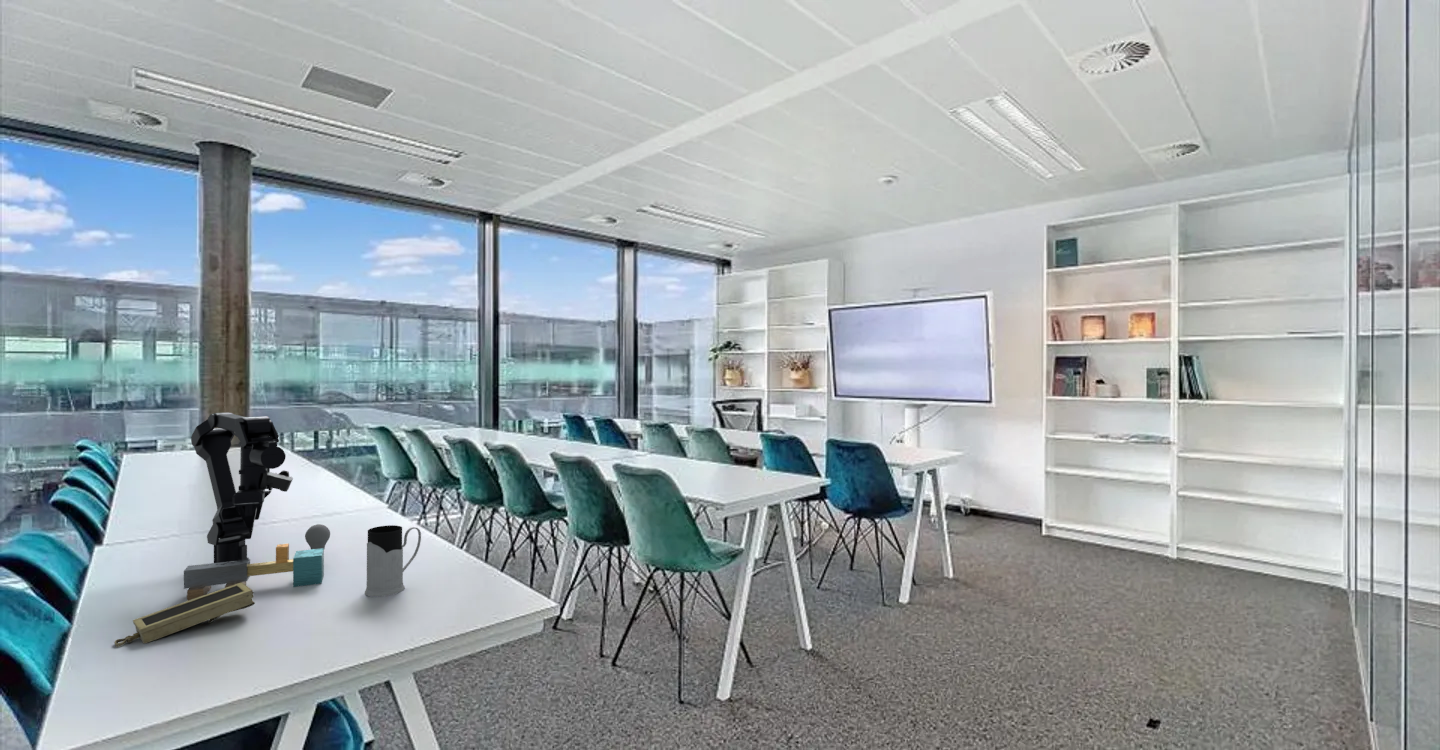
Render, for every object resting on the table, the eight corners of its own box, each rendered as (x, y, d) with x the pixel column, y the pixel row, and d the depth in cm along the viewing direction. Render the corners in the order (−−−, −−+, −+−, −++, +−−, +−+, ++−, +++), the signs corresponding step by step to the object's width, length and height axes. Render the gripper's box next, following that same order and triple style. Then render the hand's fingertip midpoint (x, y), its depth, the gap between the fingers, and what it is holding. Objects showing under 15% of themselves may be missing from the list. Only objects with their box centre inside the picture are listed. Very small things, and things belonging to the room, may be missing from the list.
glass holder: (356, 592, 156) (356, 530, 156) (408, 576, 169) (409, 518, 169) (379, 599, 152) (379, 535, 152) (431, 581, 165) (431, 522, 165)
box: (258, 610, 141) (254, 588, 141) (121, 663, 124) (115, 638, 123) (247, 601, 146) (242, 580, 146) (113, 651, 129) (107, 628, 129)
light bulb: (310, 564, 177) (310, 528, 177) (301, 560, 181) (301, 524, 181) (333, 559, 182) (334, 524, 182) (324, 555, 186) (324, 521, 186)
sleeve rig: (181, 601, 149) (181, 571, 149) (190, 590, 156) (190, 561, 156) (321, 584, 162) (321, 555, 162) (323, 574, 169) (323, 547, 169)
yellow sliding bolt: (213, 580, 154) (213, 553, 154) (216, 577, 157) (216, 550, 156) (307, 569, 163) (308, 544, 163) (309, 566, 165) (309, 541, 165)
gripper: (286, 468, 166) (285, 529, 166) (294, 457, 182) (293, 513, 182) (232, 471, 160) (231, 533, 161) (245, 459, 177) (245, 516, 177)
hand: (253, 523), depth 170 cm, fingers open, 9 cm apart
